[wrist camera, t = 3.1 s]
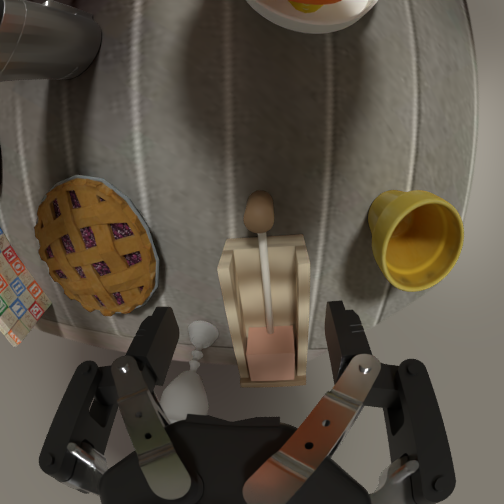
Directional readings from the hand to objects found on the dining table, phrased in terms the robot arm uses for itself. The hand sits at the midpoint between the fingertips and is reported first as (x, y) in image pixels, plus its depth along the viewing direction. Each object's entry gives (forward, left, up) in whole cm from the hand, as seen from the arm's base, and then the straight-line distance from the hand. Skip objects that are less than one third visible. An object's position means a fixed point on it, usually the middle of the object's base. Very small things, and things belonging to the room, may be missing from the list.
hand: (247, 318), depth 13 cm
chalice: (+21, -11, -20) cm, 31 cm away
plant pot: (+3, +16, -20) cm, 26 cm away
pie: (+4, -24, -20) cm, 32 cm away
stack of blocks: (+7, -50, -20) cm, 55 cm away
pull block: (+11, 0, -18) cm, 21 cm away
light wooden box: (+15, 0, -20) cm, 25 cm away
